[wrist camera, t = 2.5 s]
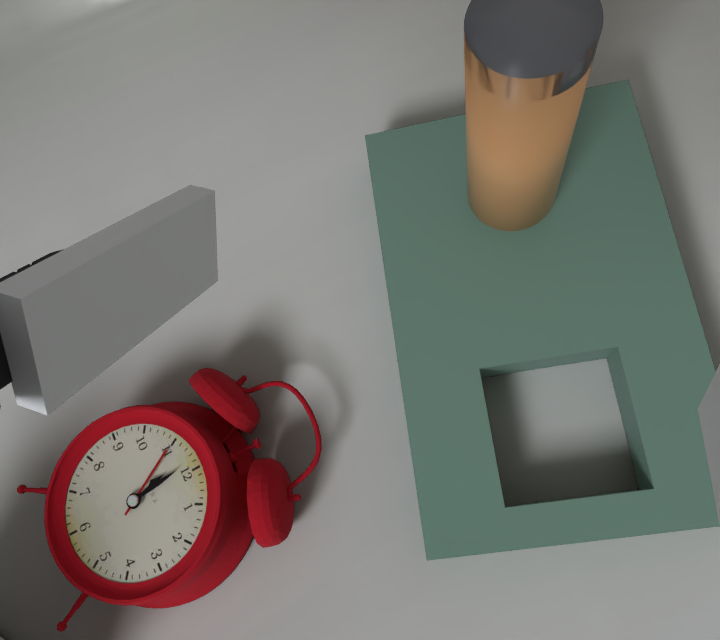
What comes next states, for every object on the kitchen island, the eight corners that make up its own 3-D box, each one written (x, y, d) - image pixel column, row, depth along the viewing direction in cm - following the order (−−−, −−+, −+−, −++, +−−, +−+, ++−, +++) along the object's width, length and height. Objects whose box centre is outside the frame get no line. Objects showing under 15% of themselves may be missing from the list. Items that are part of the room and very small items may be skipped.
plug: (460, 162, 32) (453, -17, 21) (545, 145, 32) (586, -49, 20) (475, 238, 31) (476, 91, 20) (564, 222, 31) (618, 61, 19)
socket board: (372, 158, 36) (365, 135, 34) (617, 108, 34) (628, 79, 32) (430, 554, 30) (426, 560, 27) (736, 519, 28) (760, 521, 26)
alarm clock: (-7, 465, 31) (215, 308, 28) (87, 459, 37) (281, 328, 34) (52, 672, 28) (312, 524, 25) (146, 630, 34) (368, 505, 30)
